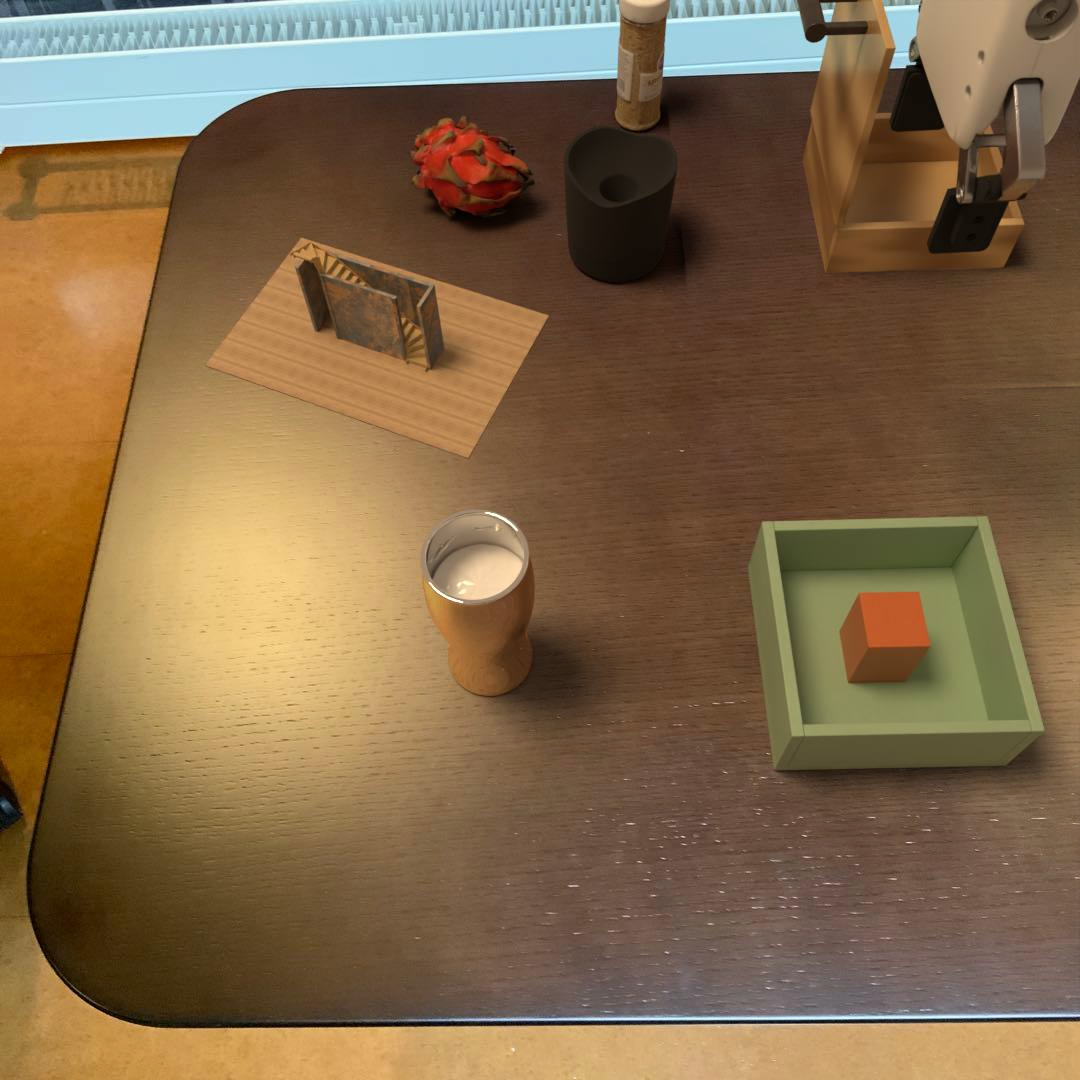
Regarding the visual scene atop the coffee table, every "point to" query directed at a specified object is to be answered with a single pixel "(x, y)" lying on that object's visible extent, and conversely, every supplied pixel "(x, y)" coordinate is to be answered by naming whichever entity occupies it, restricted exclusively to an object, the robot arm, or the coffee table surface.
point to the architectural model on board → (381, 345)
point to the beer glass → (481, 598)
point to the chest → (901, 204)
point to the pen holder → (618, 201)
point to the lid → (847, 87)
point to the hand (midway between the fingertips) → (935, 185)
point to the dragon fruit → (468, 168)
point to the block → (884, 637)
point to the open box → (936, 682)
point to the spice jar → (640, 62)
